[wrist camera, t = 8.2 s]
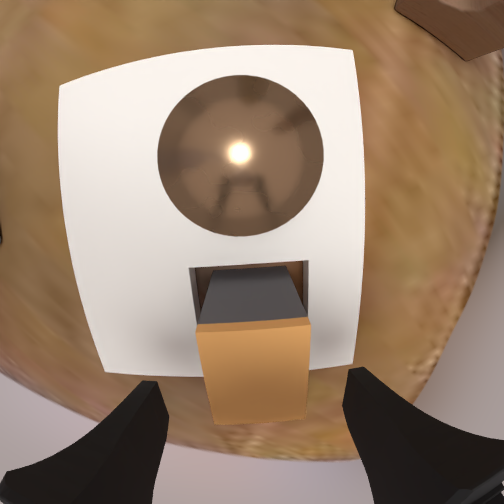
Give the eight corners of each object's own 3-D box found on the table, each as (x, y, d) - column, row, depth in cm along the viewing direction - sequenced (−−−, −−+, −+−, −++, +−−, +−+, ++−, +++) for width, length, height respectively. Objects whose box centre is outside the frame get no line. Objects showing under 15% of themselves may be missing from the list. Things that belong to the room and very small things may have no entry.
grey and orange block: (222, 345, 17) (214, 424, 11) (213, 270, 16) (195, 332, 10) (286, 341, 17) (305, 418, 11) (285, 265, 16) (310, 324, 10)
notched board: (113, 359, 17) (105, 371, 16) (72, 90, 13) (59, 85, 11) (345, 350, 18) (352, 363, 16) (343, 59, 13) (352, 50, 11)
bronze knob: (192, 217, 14) (165, 242, 9) (185, 114, 12) (154, 85, 7) (297, 210, 14) (325, 231, 9) (292, 107, 12) (317, 74, 7)
